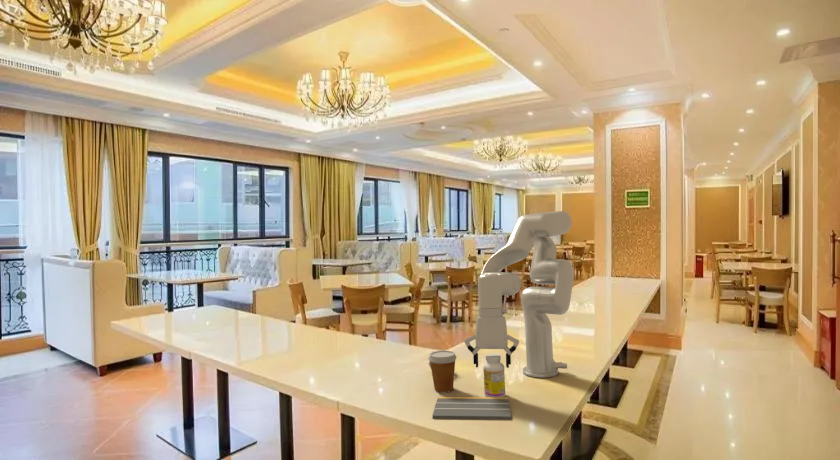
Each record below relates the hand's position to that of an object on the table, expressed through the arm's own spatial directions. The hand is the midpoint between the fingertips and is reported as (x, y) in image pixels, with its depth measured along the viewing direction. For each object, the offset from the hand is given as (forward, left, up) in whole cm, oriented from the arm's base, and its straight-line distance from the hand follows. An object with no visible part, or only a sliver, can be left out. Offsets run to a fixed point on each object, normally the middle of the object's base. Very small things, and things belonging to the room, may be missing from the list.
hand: (492, 366), depth 144 cm
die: (+20, -25, -10) cm, 33 cm away
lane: (+7, +10, -10) cm, 16 cm away
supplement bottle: (0, -1, -10) cm, 10 cm away
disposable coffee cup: (+17, -7, -10) cm, 20 cm away
